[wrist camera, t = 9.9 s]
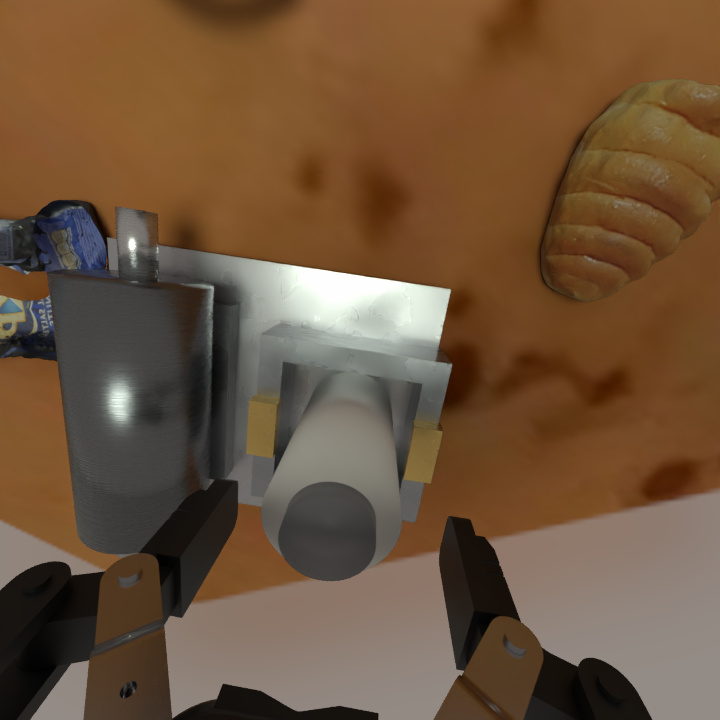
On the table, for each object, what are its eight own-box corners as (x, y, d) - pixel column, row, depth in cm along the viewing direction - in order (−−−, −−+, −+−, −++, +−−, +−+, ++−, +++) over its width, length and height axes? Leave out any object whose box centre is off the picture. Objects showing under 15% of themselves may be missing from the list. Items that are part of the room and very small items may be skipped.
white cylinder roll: (398, 379, 20) (418, 491, 10) (383, 453, 21) (389, 611, 12) (314, 365, 20) (255, 465, 10) (305, 440, 21) (246, 588, 12)
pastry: (606, 318, 19) (657, 330, 16) (501, 267, 19) (529, 268, 15) (722, 147, 17) (816, 114, 13) (603, 84, 16) (666, 34, 13)
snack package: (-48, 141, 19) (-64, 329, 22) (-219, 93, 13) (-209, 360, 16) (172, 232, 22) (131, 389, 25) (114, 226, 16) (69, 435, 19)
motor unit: (458, 261, 19) (505, 262, 12) (402, 520, 24) (410, 629, 17) (118, 210, 19) (-36, 180, 12) (133, 476, 24) (30, 565, 17)
